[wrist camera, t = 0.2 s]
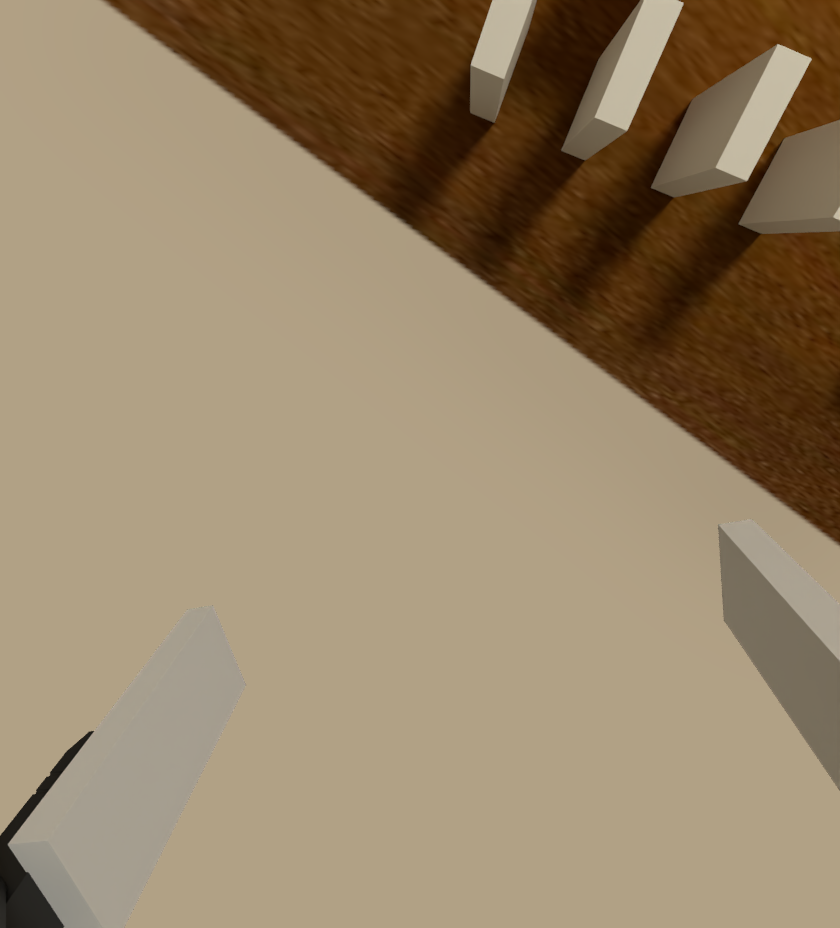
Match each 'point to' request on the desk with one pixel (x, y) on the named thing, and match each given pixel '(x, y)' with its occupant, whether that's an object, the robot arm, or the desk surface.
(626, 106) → the domino
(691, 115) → the domino
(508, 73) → the domino
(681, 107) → the desk surface
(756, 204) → the domino
